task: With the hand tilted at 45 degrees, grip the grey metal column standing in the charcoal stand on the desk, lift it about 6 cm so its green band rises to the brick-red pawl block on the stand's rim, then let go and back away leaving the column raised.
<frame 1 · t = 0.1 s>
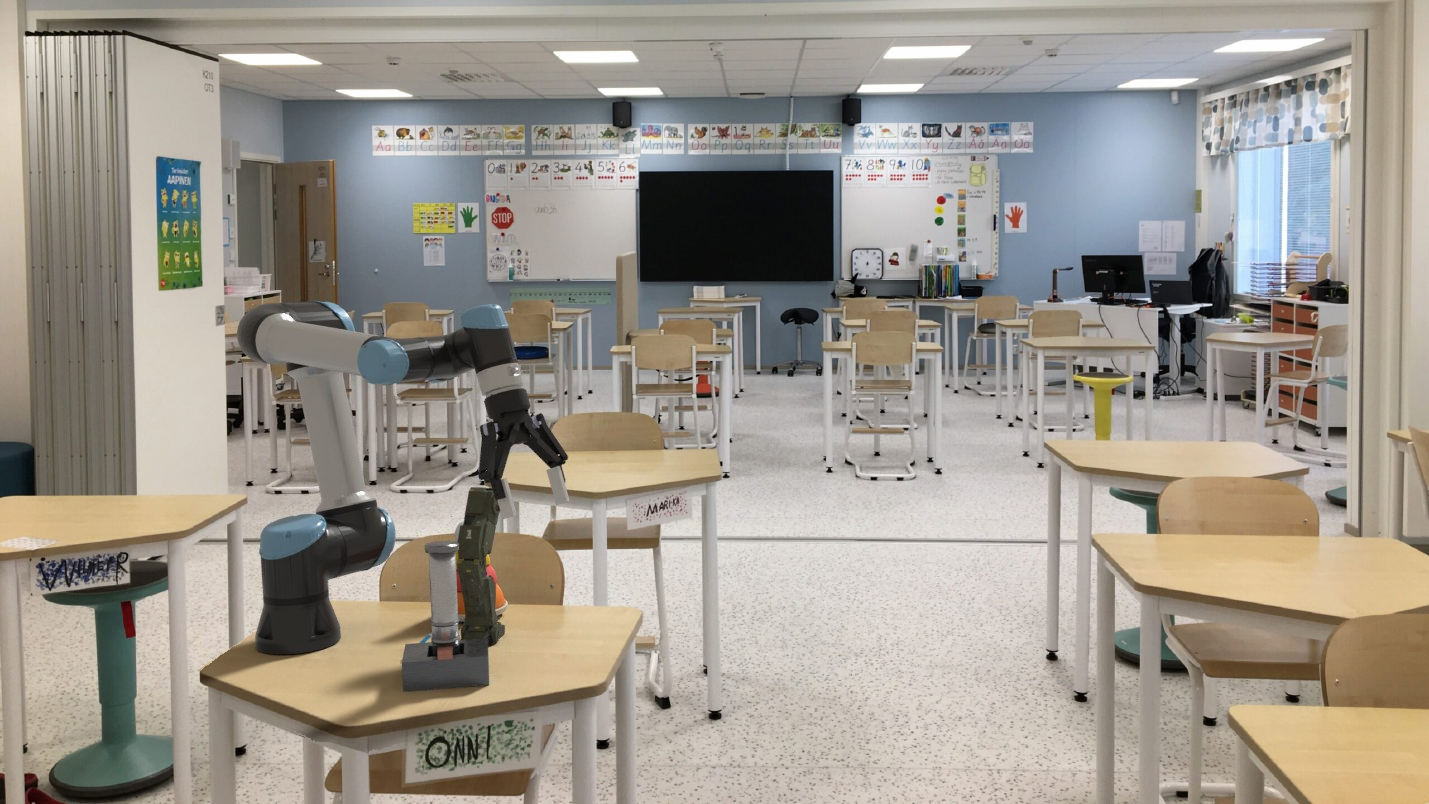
hand: (537, 510, 200), 28 cm above the table, tool tilted 20°, fingers open, 13 cm apart
pencil: (416, 651, 213), on the table
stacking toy: (472, 616, 234), on the table
stand: (447, 678, 197), on the table
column: (444, 610, 196), point 12 cm above the table, slide at 0.0 cm
mechanical leg: (482, 641, 218), on the table
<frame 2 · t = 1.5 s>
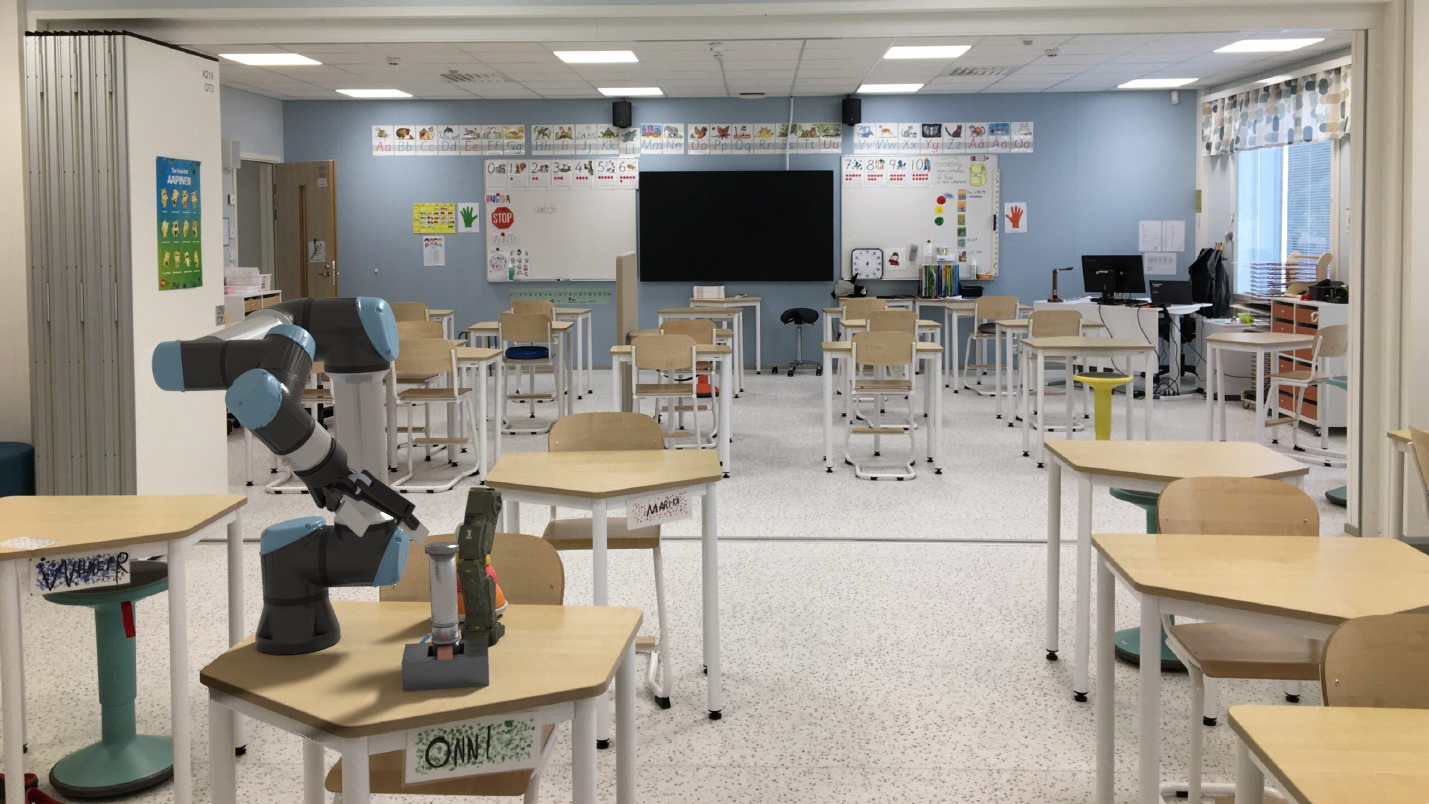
hand: (393, 534, 185), 27 cm above the table, tool tilted 45°, fingers open, 13 cm apart
nothing on the table moved.
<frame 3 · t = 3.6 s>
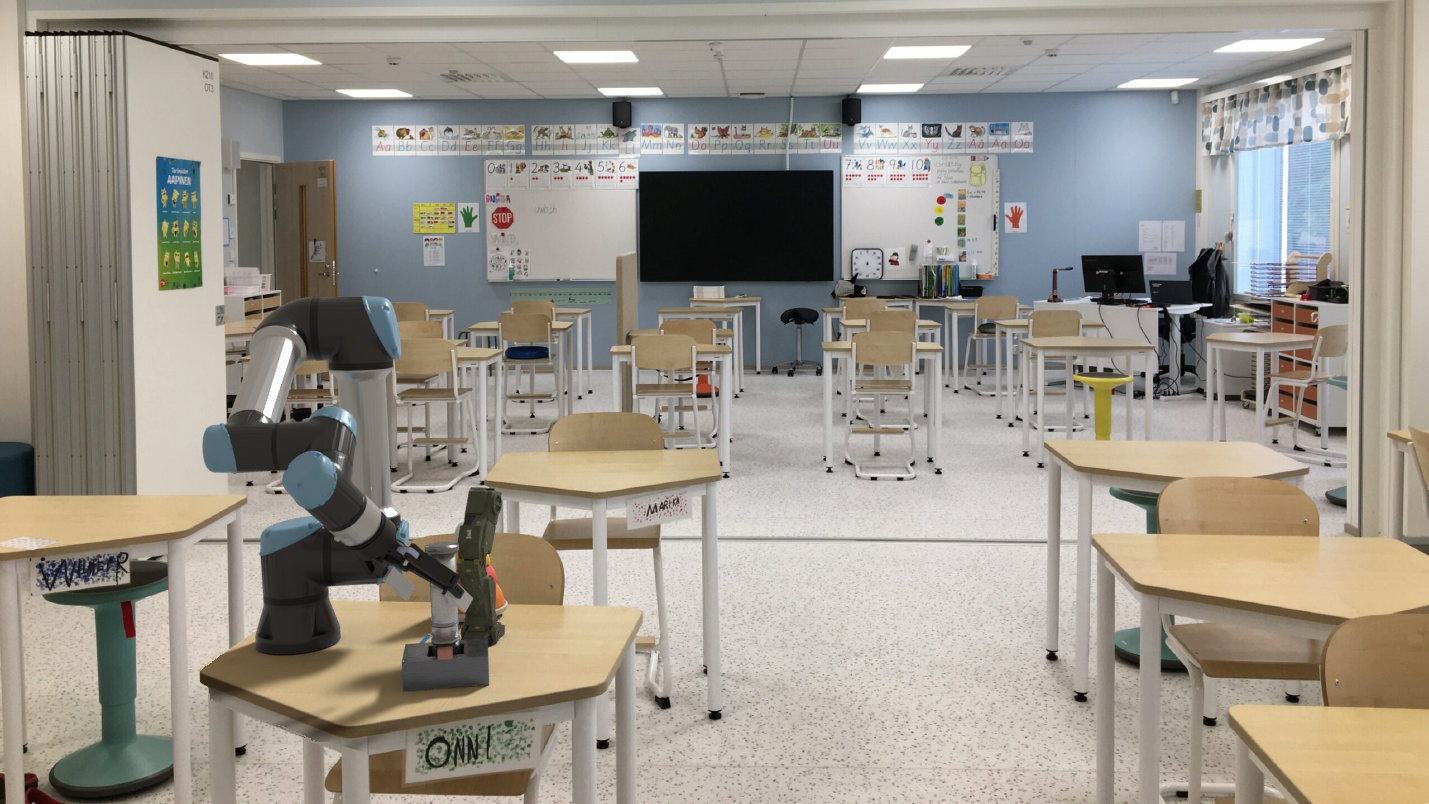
hand: (438, 599, 193), 14 cm above the table, tool tilted 45°, fingers open, 13 cm apart
nothing on the table moved.
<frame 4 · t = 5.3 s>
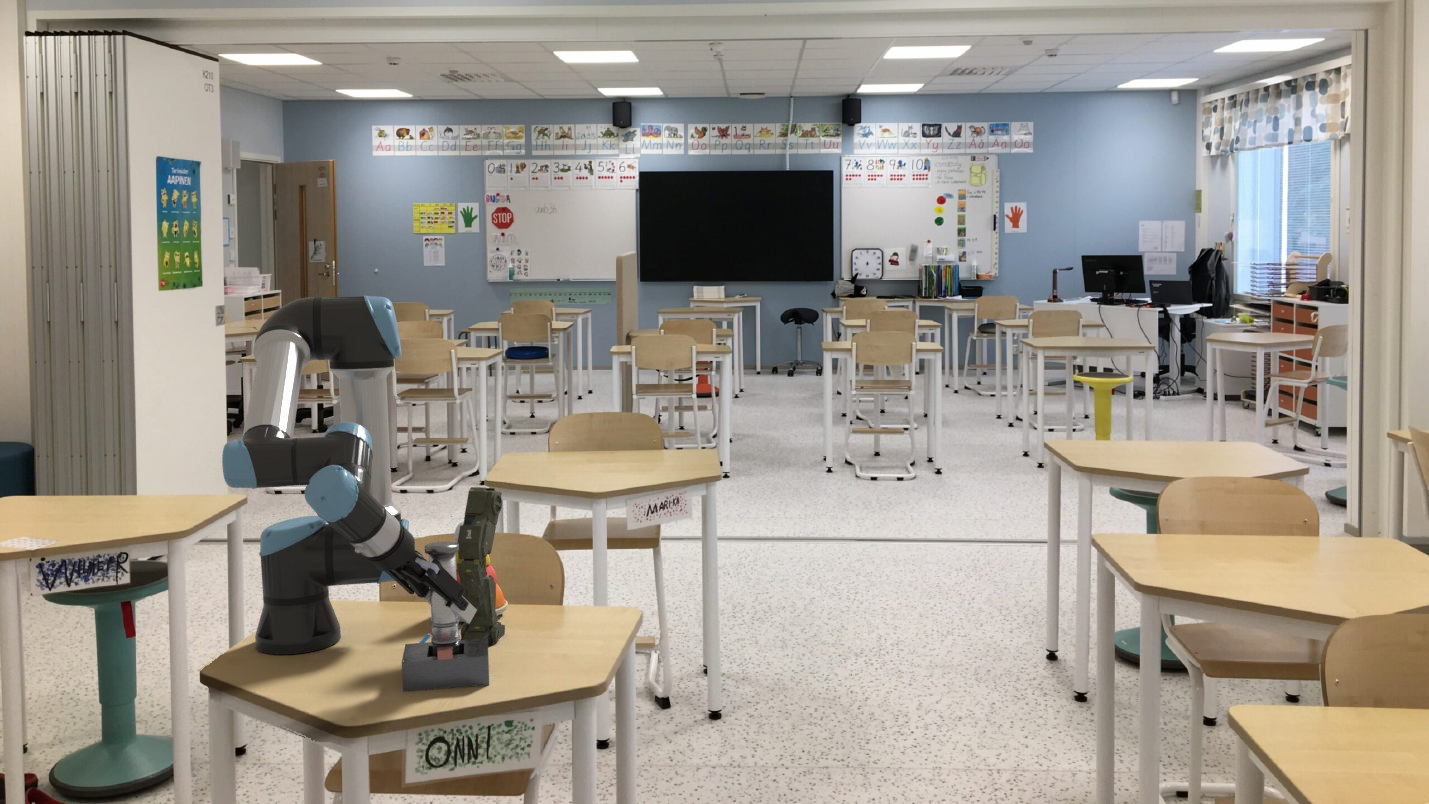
hand: (460, 614, 199), 10 cm above the table, tool tilted 45°, fingers closed on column, 4 cm apart
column: (444, 611, 196), point 12 cm above the table, slide at -0.1 cm, touching gripper
everything else where it was.
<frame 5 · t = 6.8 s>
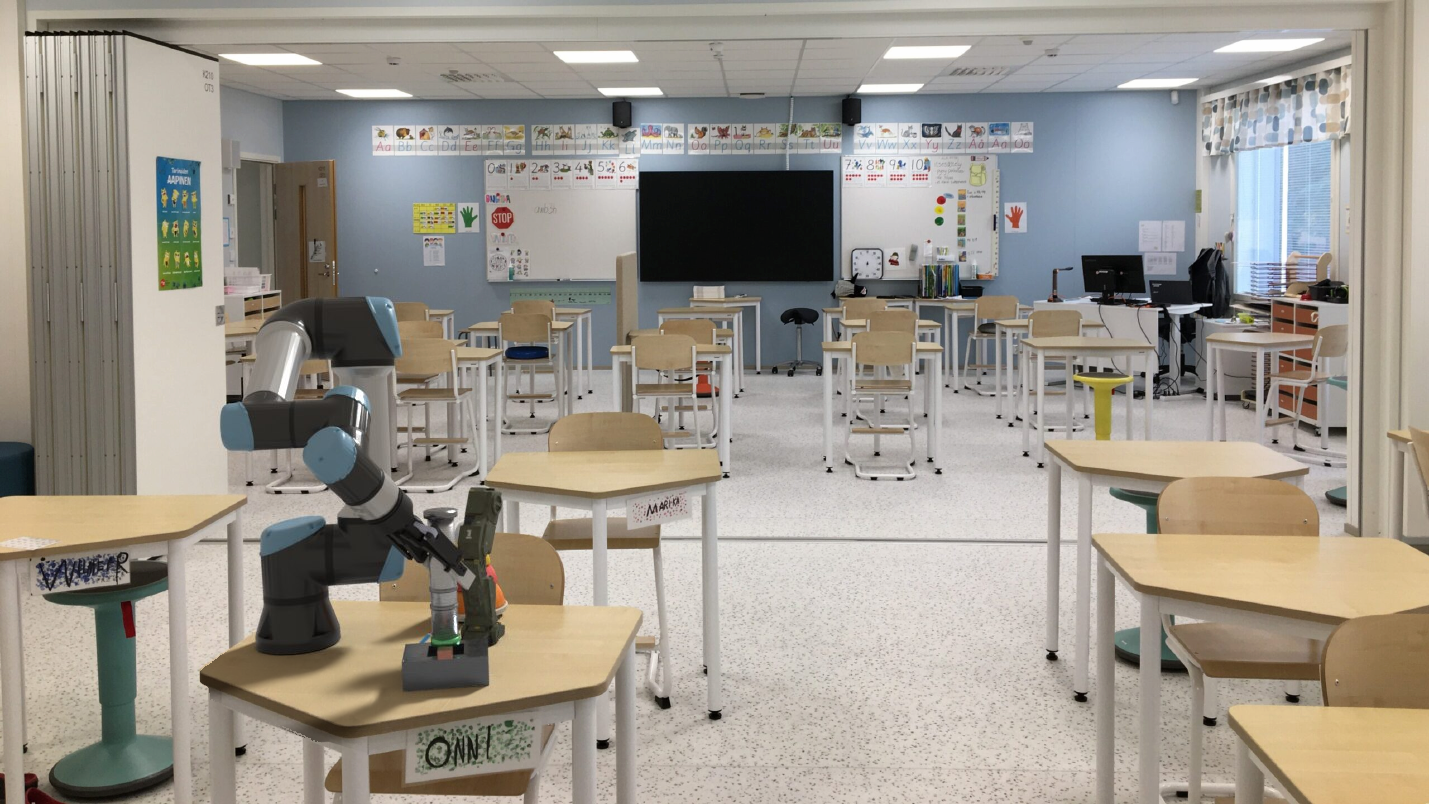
hand: (459, 580, 198), 16 cm above the table, tool tilted 45°, fingers closed on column, 4 cm apart
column: (443, 577, 195), point 18 cm above the table, slide at 5.8 cm, touching gripper
everything else where it was.
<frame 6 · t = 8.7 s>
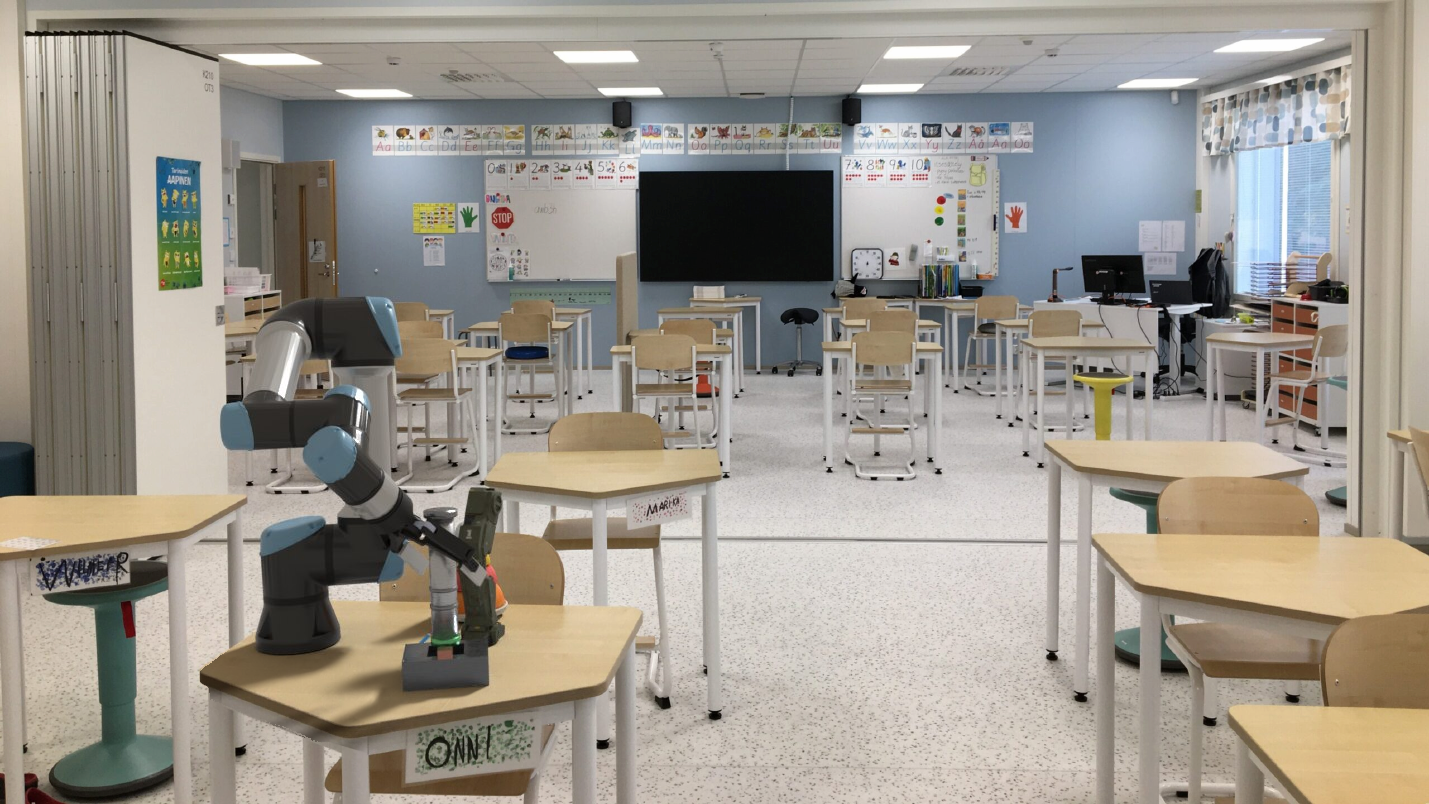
hand: (453, 574, 197), 18 cm above the table, tool tilted 45°, fingers open, 13 cm apart
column: (443, 577, 195), point 18 cm above the table, slide at 5.8 cm
everything else where it was.
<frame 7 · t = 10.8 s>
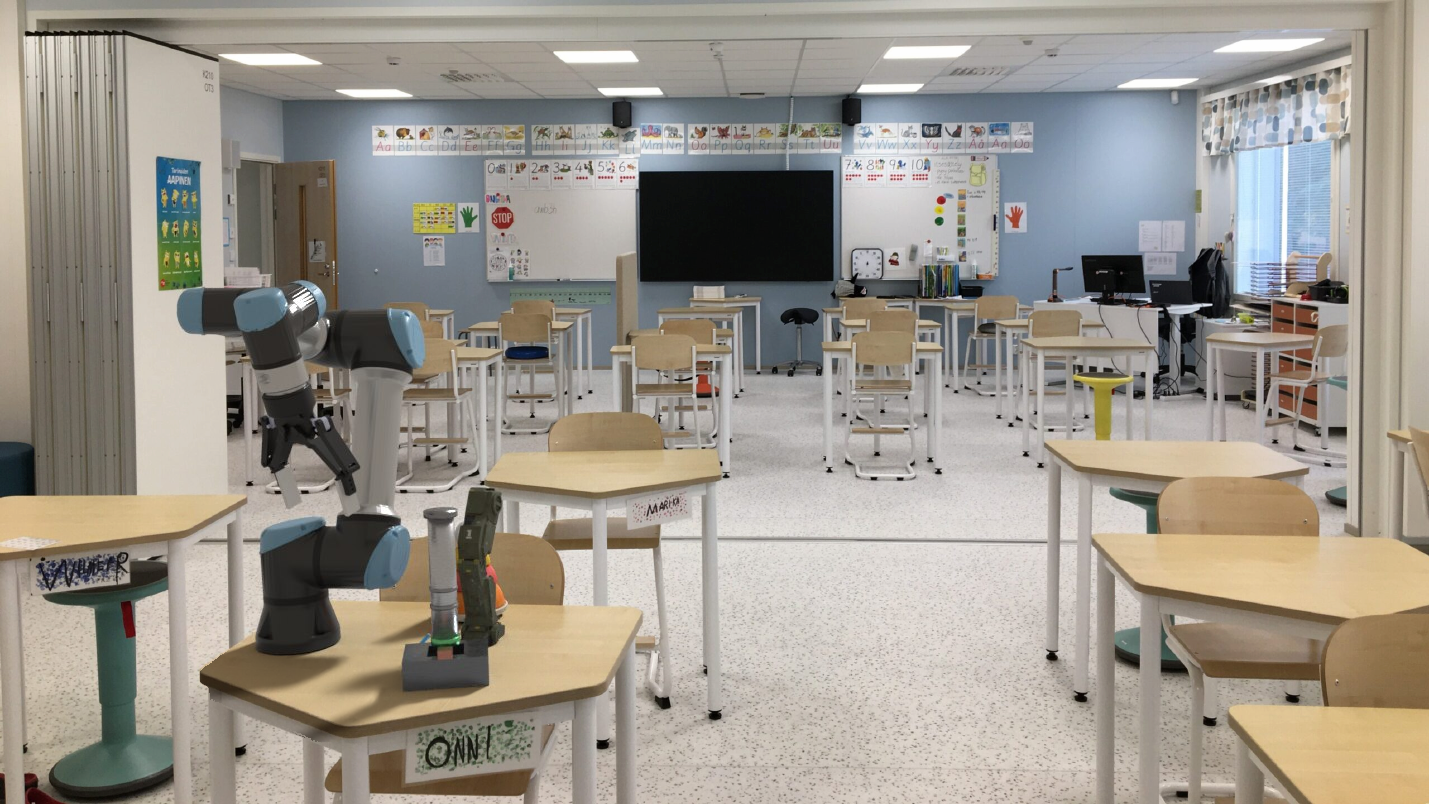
hand: (323, 508, 188), 31 cm above the table, tool tilted 15°, fingers open, 13 cm apart
nothing on the table moved.
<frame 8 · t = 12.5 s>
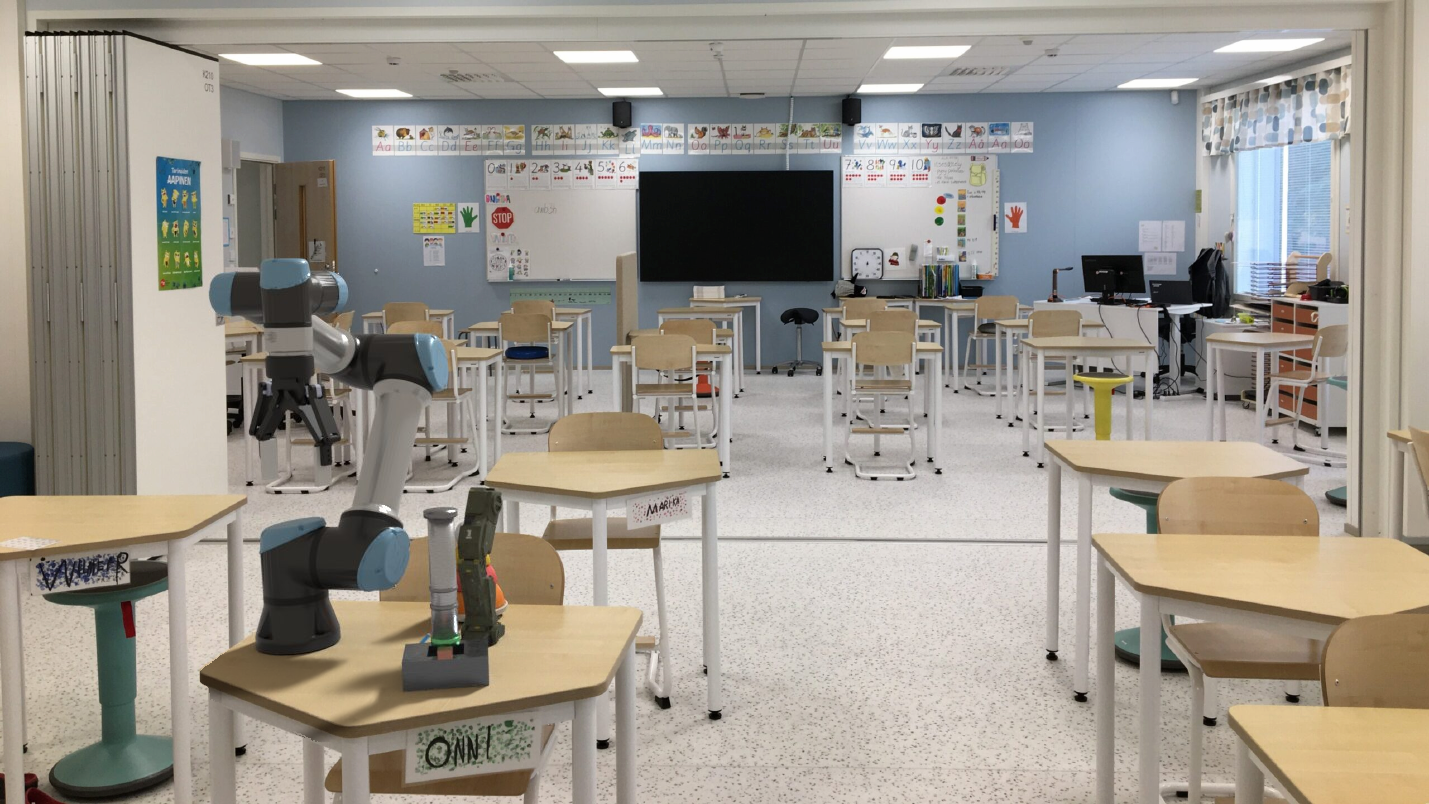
hand: (296, 482, 191), 35 cm above the table, tool pointing down, fingers open, 13 cm apart
nothing on the table moved.
at the end: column slide at 5.8 cm; the gripper is holding nothing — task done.
